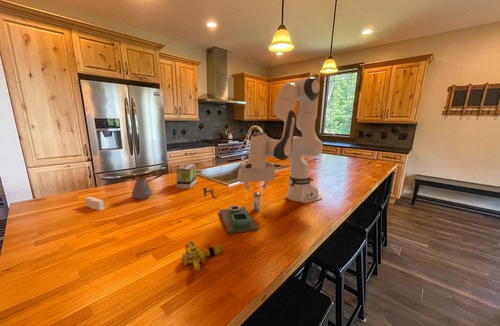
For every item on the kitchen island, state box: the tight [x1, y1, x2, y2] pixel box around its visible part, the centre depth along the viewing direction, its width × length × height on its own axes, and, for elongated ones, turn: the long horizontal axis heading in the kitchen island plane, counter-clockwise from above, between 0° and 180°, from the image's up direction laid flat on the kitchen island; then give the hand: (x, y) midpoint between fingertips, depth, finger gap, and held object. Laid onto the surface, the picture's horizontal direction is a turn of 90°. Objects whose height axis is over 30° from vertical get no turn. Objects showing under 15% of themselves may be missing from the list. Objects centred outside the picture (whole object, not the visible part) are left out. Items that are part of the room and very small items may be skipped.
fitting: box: [252, 191, 261, 213], centre depth 111 cm, size 4×4×10 cm
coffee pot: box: [131, 171, 169, 201], centre depth 127 cm, size 21×12×15 cm, turn 111°
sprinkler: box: [180, 240, 224, 271], centre depth 75 cm, size 19×4×15 cm
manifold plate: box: [218, 204, 259, 236], centre depth 100 cm, size 14×22×4 cm, turn 18°
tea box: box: [175, 163, 197, 190], centre depth 149 cm, size 15×10×15 cm
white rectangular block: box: [84, 196, 105, 211], centre depth 112 cm, size 15×11×6 cm
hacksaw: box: [203, 187, 217, 200], centre depth 134 cm, size 24×10×2 cm, turn 14°
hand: (256, 189), depth 109 cm, fingers open, 8 cm apart
